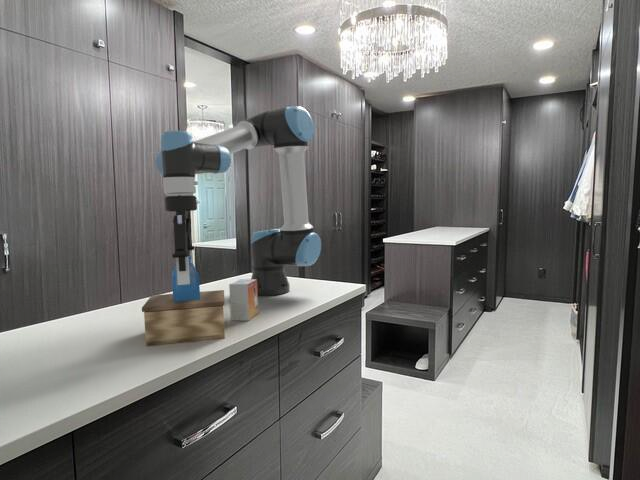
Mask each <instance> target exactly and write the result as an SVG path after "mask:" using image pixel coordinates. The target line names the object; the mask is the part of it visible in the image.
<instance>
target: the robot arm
mask: <svg viewBox="0 0 640 480" xmlns="http://www.w3.org/2000/svg"><path fill="white" fill-rule="evenodd" d="M314 134H315V126H314V122H313V118H312V117H311V114H310V113H309V112H308V111H307V110H306V109H305V108H304V107H302V106H299V105H298V106H297V105H296V106H287V107H283V108H279V109H274V110H268V111H263V112H260V113H258V114H255V115H253V116H251V117H249V118H246V119H244V120H241V121H238V123H237V124H236V125H235V126H234V127H231V128H228V129H226V130H222V131H220V132H217V133H214V134H211V135H209V136H206V137H203V138H200V139H196V140H194V137H193V134H192V132H189V131H184V130H167V131H164V132H163V133H162V134H161V137H160V151H159V153H158V154H157V155H156V157H155V166H156V169H157V171H158V172H159V173H160V174H161V175H162V177H163V178H162V182H163V183H162V184H163V193H164V195H166V196H165V197H164V206H165V209H164V210H165V211H166V212H175V215H173V220H172V222H173V232H174V252H173V254H172V259H175V262H176V264H175V265H176V266H177V281H178V285H185V284H190V277H189V262H188V257H187V256H188V253H187V251H190V255H191V260H190V263H193V251H194V250H195V246H194V245H193V244H192V235H191V234H192V227H191V224H192V218H191V217H190V214H189V213H188V211H189V212H190V211H197V209H198V203H197V202H198V200H197V196H196V195H194V194H196V193H197V190H196V188H197V187H196V186H197V185H199V183H198V181H196V175H201V174H215V175H216V174H223V173H226V172H227V171H228V170H229V169H230V167H231V163H232V158H231V155H233V154H234V153H237V152H239V151H242V150H244V149H245V150H253V149H254V148H259V147H269V146H270V147H271V146H273V150H274V151H275V152H276V153H277V154H278V157H279V171H280V173H279V175H280V183H281V184H280V185H281V187H280V188H281V199H282V200H281V201H282V213H283V225H282V226H281V228H273V229H267V230H261V231H260V230H259V231H255V232H253V233H252V234H251V243H250V244H251V259H252V262H251V263H252V273H251V278H250V279H257V293H258V294H257V295H258V296H263V297H264V296H265V297H267V296H276V295H283V294H287V293H288V292H290V291H291V290H290V289H291V288H290V282H289V280H288V277H287V274H286V271H285V266H297V267H310V266H312V265H314V264H315V263H316V262H317V260H318V259H319V256H320V255H321V250H322V241H321V238H320V235H319V234H317V233H316V232H314V226H313V225H312V224H311V223H310V222H309V221H310V220H309V208H308V206H309V205H308V195H307V193H308V190H307V178H306V176H307V175H306V164H305V161H306V160H305V152H306V151H307V150H308V149H309V142H310V141H311V140H312V139H313V137H314ZM193 264H194V263H193Z"/></svg>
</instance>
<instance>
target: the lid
mask: <svg viewBox="0 0 640 480" xmlns="http://www.w3.org/2000/svg"><path fill="white" fill-rule="evenodd" d="M225 303H226V301H225V290H224V289H222V290H220V289H219V290H204V291H200V299H198V300H188V301H179V302H174V299H173V293H167V294H166V293H165V294H154V295H151V296H150V297H149V298H148V299H147V301H145V303H144V304H143V306H142V307H141V313H144V312H148V311H160V310H172V309H184V308H196V307H208V306H220V305H223V306H225V305H226V304H225Z"/></svg>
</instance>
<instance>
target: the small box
mask: <svg viewBox="0 0 640 480" xmlns="http://www.w3.org/2000/svg"><path fill="white" fill-rule="evenodd" d="M228 286H229V287H228V288H229V305H230V307H229V309H230V320H231V321H242V322H243V321H250V320H252V319H253V318H254V317H255V316H257V315H259V300H258V299H259V298H258V296H259V295H257V294H258V293H257V279H251V278H248V279H245V278H244V279H243V278H242V279H238V280H236V281H233V282H232V283H229V285H228Z"/></svg>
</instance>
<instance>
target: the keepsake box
mask: <svg viewBox="0 0 640 480" xmlns="http://www.w3.org/2000/svg"><path fill="white" fill-rule="evenodd" d="M224 315H225V314H224V305H220V306H208V307H196V308H184V309H172V310H160V311H148V312H143V316H144V317H143V318H144V320H143V321H144V333H145V346H146V347H151V346H160V345H169V344H170V345H171V344H181V343H189V342H190V343H192V342H198V341H209V340H210V341H211V340H218V339H219V340H220V339H221V340H222V339H225V338H226V337H225V336H226V335H225V316H224Z"/></svg>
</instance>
